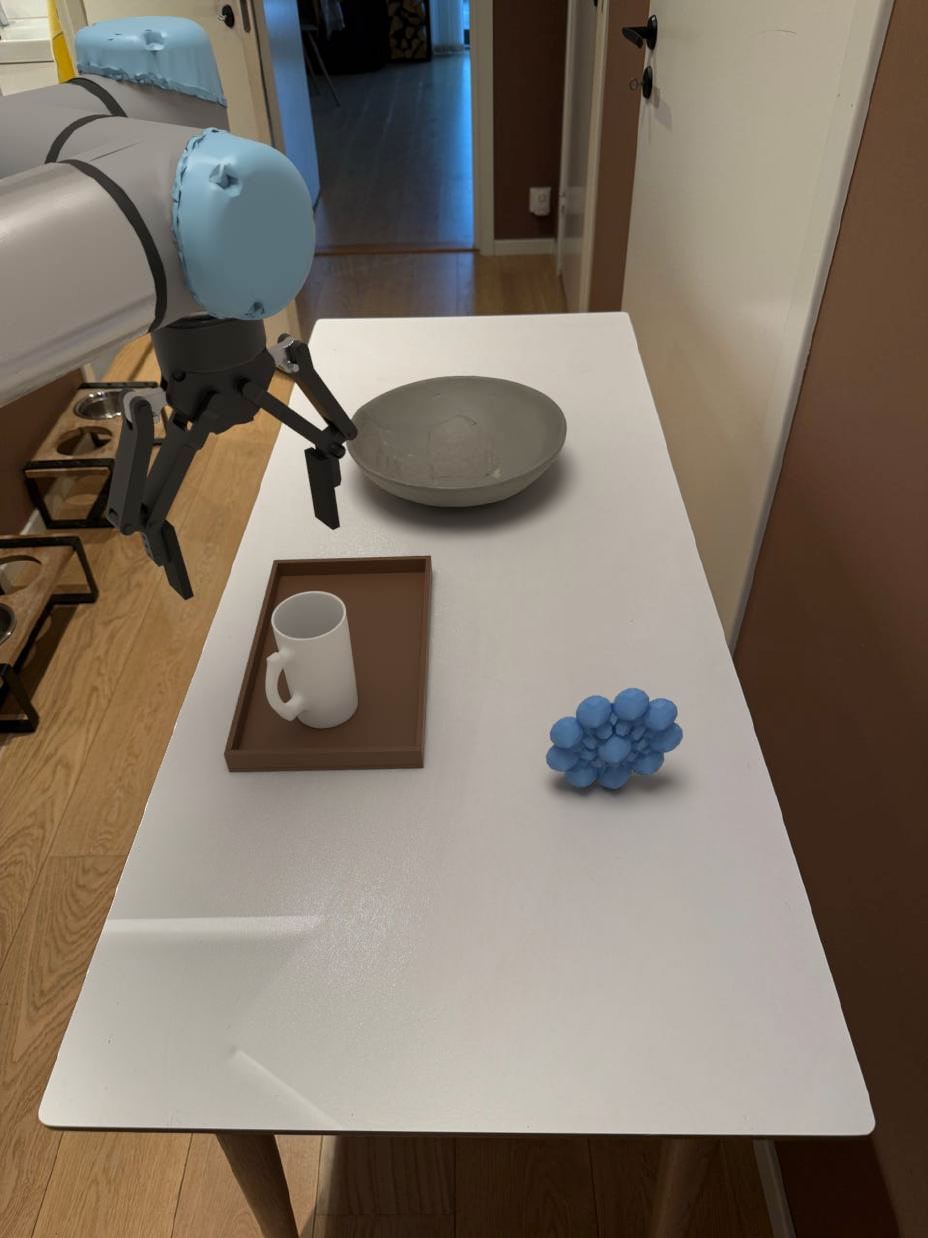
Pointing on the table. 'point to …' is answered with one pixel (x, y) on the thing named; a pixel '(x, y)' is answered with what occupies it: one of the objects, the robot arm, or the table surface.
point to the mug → (313, 660)
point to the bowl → (457, 439)
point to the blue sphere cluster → (614, 739)
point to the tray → (383, 664)
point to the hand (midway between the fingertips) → (257, 555)
